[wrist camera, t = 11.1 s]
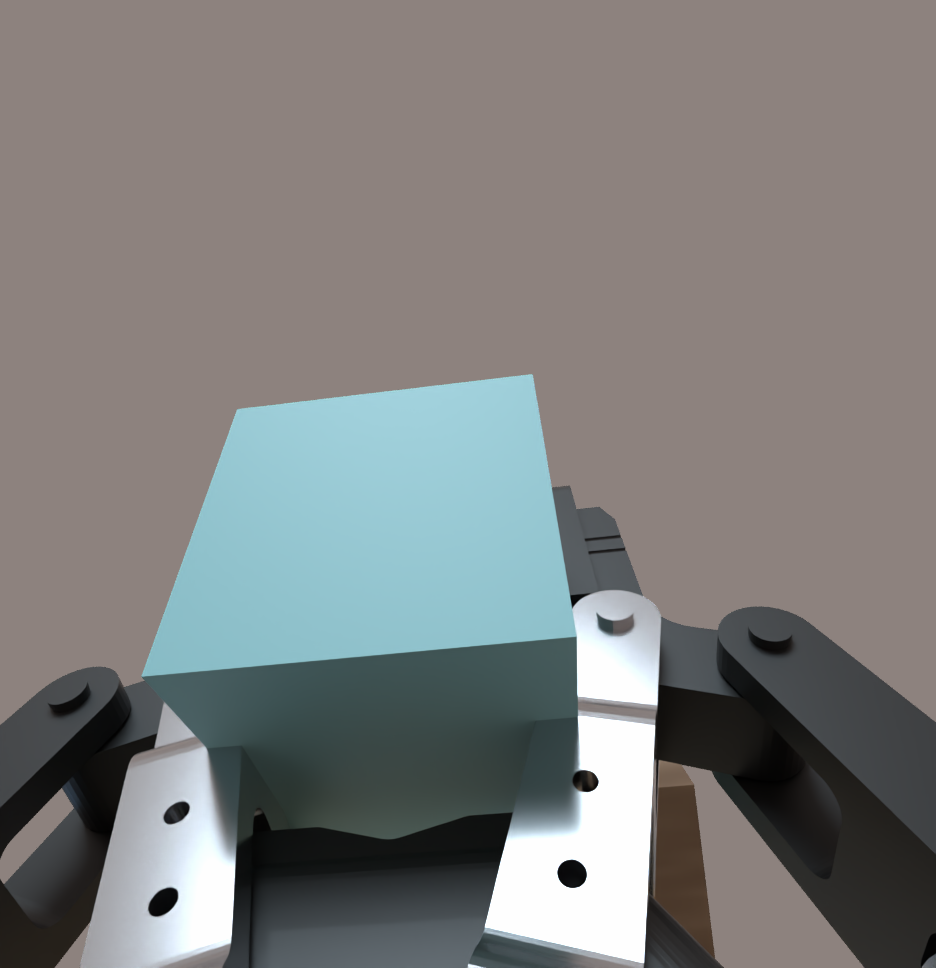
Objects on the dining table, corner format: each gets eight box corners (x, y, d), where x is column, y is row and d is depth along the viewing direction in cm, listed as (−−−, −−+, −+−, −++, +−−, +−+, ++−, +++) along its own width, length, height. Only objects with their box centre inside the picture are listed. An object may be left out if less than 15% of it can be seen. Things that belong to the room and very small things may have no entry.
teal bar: (576, 637, 6) (532, 373, 9) (141, 677, 6) (237, 409, 9) (583, 1025, 23) (567, 891, 25) (466, 1031, 23) (463, 898, 26)
